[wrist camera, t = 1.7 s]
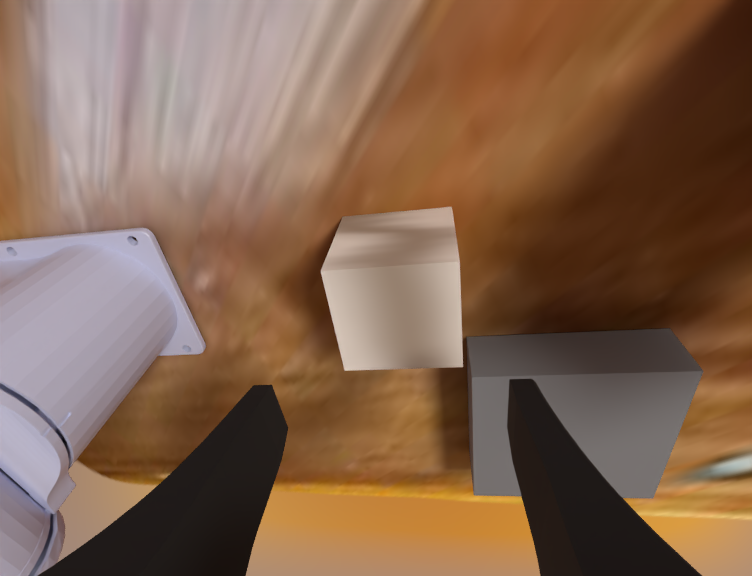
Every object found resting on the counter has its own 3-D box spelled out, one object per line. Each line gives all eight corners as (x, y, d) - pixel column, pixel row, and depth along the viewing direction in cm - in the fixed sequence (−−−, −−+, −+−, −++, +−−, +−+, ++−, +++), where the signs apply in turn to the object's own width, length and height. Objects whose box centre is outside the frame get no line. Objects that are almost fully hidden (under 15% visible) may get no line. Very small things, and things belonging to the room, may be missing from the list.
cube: (359, 303, 22) (344, 370, 18) (342, 216, 19) (320, 271, 15) (455, 297, 21) (463, 366, 17) (451, 206, 18) (459, 261, 14)
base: (469, 452, 28) (474, 495, 25) (466, 336, 22) (472, 377, 20) (631, 452, 26) (652, 498, 24) (669, 328, 21) (703, 371, 18)
